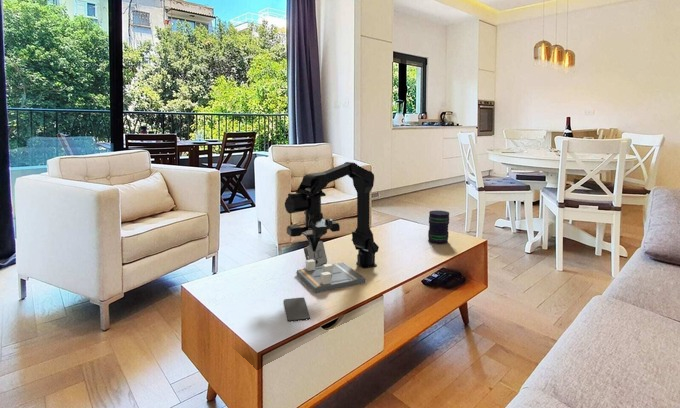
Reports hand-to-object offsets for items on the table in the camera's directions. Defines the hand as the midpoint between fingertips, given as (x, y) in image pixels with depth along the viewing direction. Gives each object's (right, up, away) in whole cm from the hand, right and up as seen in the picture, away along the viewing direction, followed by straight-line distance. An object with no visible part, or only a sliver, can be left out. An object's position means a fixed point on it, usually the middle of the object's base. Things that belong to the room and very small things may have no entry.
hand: (313, 251), depth 144 cm
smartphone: (-4, -17, -20) cm, 26 cm away
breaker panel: (+6, -11, +5) cm, 14 cm away
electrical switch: (-1, -8, +21) cm, 23 cm away
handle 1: (-2, -8, +9) cm, 12 cm away
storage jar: (+59, -2, +53) cm, 79 cm away
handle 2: (+5, -11, -4) cm, 12 cm away
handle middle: (+5, -9, +4) cm, 11 cm away
